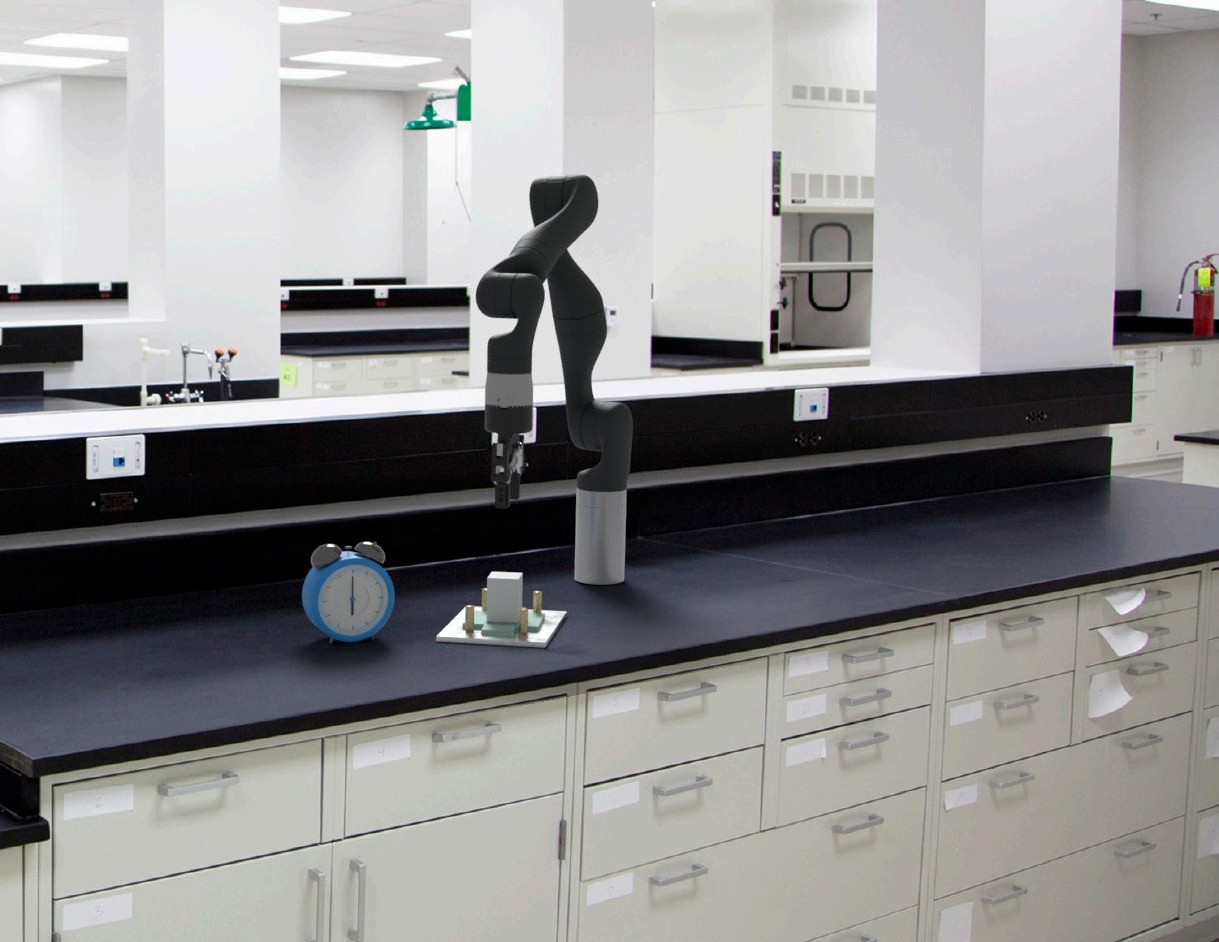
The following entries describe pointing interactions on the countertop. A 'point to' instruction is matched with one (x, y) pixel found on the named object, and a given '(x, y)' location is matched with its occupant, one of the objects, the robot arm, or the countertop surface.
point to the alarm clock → (348, 592)
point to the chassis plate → (520, 638)
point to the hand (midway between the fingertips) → (507, 503)
